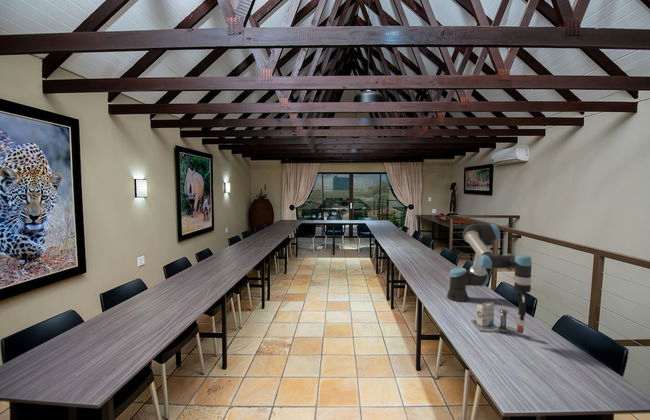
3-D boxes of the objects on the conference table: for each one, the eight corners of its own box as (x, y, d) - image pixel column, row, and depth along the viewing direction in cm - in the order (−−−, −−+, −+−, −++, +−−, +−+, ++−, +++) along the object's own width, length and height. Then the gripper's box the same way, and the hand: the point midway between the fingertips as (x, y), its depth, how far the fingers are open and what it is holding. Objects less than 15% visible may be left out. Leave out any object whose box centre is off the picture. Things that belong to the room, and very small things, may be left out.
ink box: (487, 321, 186) (488, 298, 185) (493, 325, 181) (494, 301, 180) (476, 323, 184) (476, 300, 183) (481, 326, 180) (482, 303, 179)
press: (470, 322, 189) (471, 303, 188) (497, 322, 188) (497, 303, 187) (481, 332, 175) (481, 312, 175) (509, 333, 174) (510, 312, 174)
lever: (508, 327, 176) (508, 314, 175) (523, 332, 169) (524, 318, 169) (506, 329, 174) (506, 315, 174) (522, 334, 168) (522, 320, 167)
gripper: (513, 279, 169) (512, 319, 171) (515, 285, 158) (514, 328, 159) (529, 281, 166) (528, 321, 167) (532, 287, 154) (531, 331, 156)
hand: (521, 325), depth 163 cm, fingers closed
